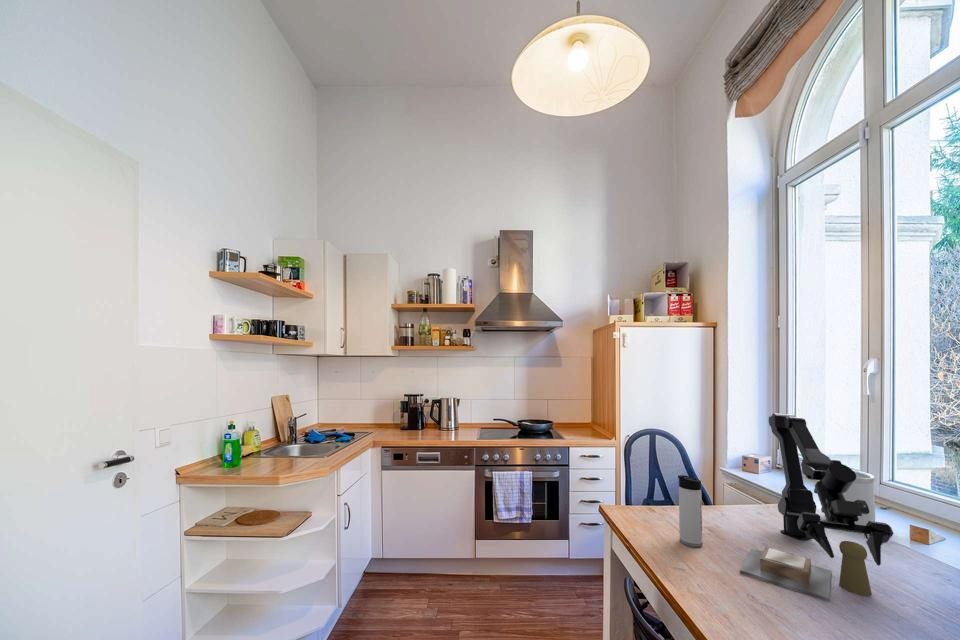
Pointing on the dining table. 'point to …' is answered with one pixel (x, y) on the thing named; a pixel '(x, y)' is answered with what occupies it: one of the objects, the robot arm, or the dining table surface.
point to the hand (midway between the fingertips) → (855, 561)
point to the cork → (854, 569)
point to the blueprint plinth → (811, 590)
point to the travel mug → (690, 511)
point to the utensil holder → (863, 495)
